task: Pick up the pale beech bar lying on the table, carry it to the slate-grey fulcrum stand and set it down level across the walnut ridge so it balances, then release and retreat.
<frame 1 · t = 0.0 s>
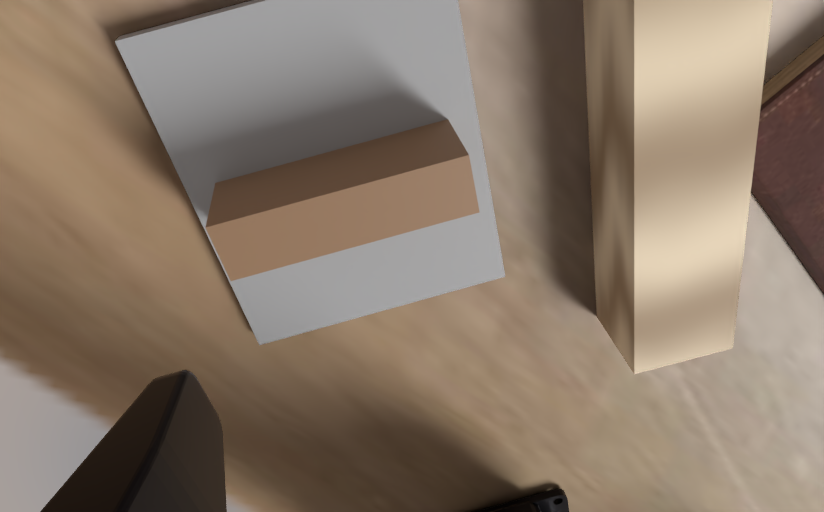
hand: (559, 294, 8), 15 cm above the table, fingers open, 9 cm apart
fulcrum stand: (339, 169, 22), on the table
beech bar: (638, 109, 23), on the table
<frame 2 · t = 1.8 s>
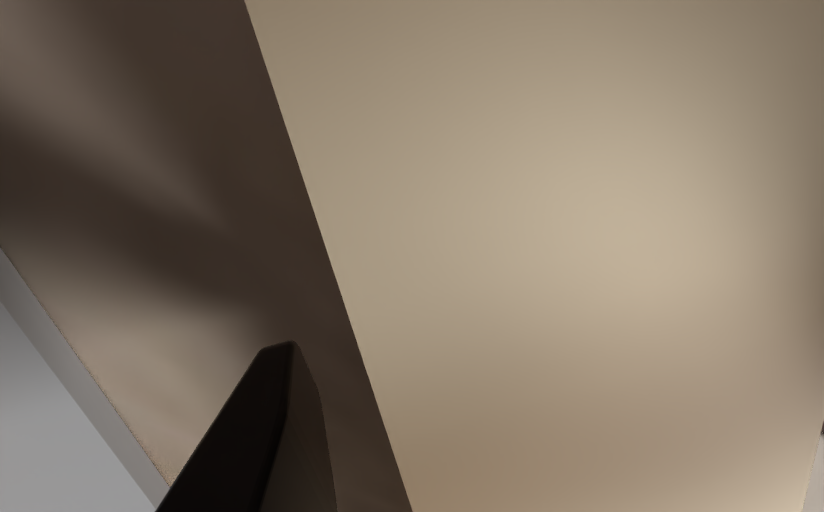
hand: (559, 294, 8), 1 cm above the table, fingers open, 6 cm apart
beech bar: (498, 232, 9), on the table
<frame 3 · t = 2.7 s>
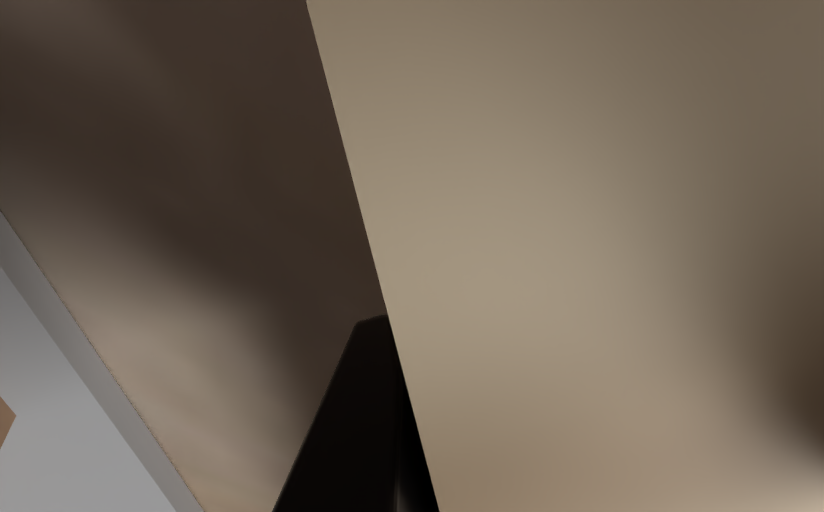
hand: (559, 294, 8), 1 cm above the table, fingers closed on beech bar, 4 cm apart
beech bar: (524, 237, 9), on the table, touching gripper
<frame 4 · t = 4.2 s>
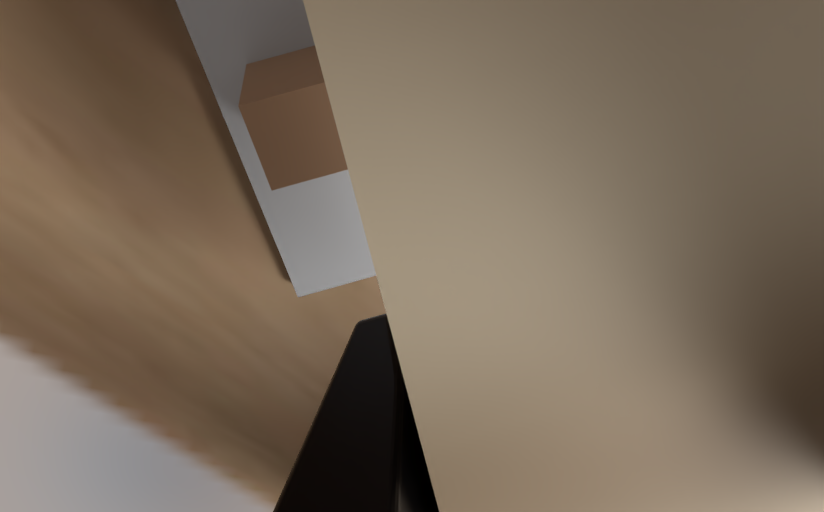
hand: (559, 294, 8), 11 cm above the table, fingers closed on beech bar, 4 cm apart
fulcrum stand: (410, 54, 17), on the table
beech bar: (524, 233, 9), point 9 cm above the table, touching gripper
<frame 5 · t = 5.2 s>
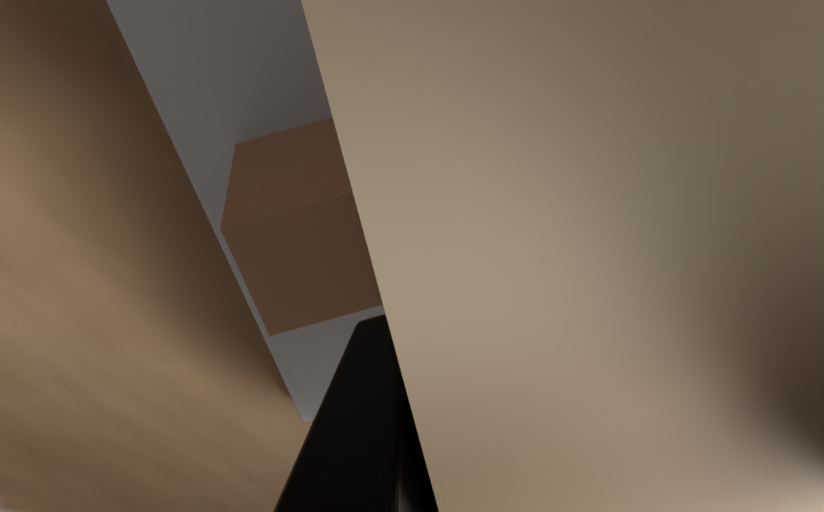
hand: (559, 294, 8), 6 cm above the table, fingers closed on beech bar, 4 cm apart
fulcrum stand: (457, 123, 12), on the table
beech bar: (523, 232, 9), point 4 cm above the table, touching gripper
when the fingers open (6 cm above the table, at t = 5.7 s): beech bar stays where it is, resting on fulcrum stand.
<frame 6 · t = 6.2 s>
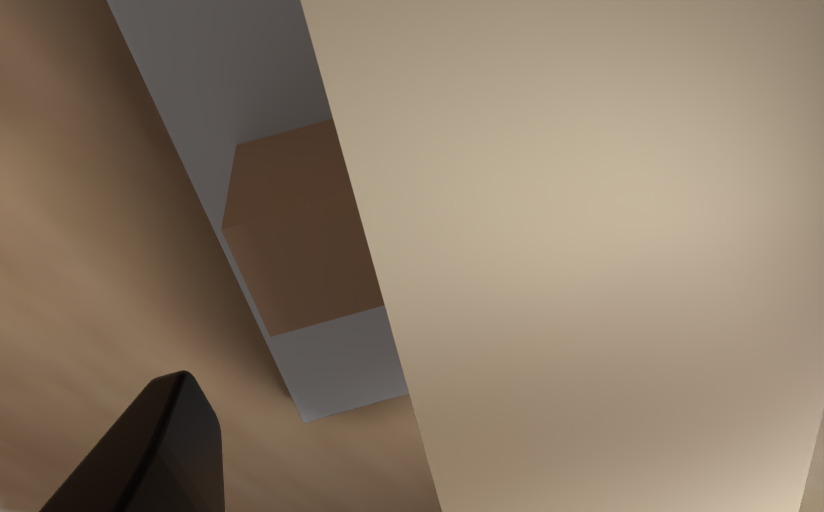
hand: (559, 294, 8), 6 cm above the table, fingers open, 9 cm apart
fulcrum stand: (457, 124, 12), on the table
beech bar: (512, 213, 9), point 4 cm above the table, touching fulcrum stand
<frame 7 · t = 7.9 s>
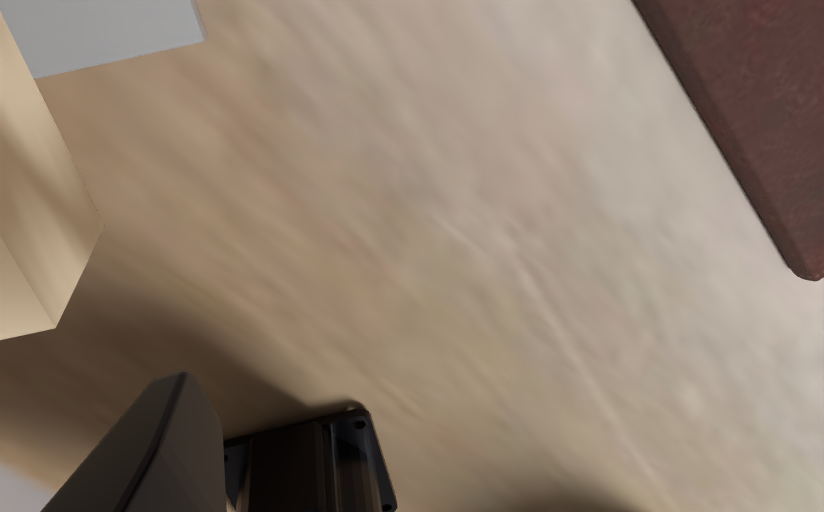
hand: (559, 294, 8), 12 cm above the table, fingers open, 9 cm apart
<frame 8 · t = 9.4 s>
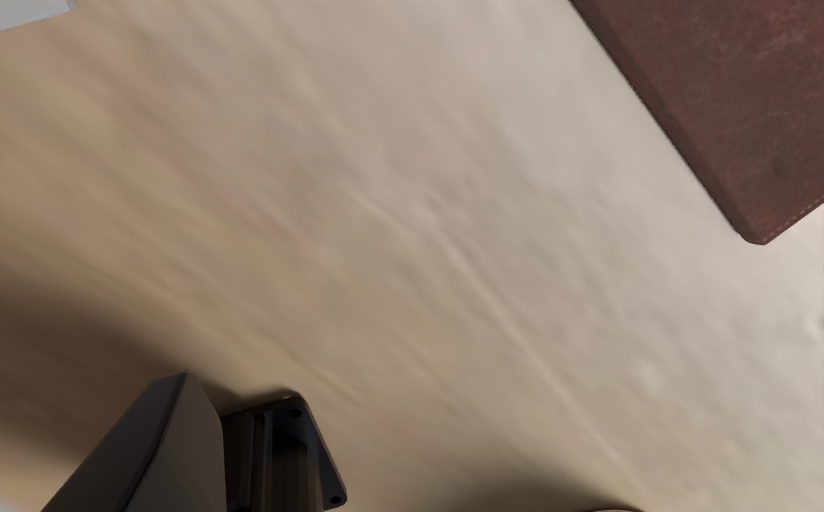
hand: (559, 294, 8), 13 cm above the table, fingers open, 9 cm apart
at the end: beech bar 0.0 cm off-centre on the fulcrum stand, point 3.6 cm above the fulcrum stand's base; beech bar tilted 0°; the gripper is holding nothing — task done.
